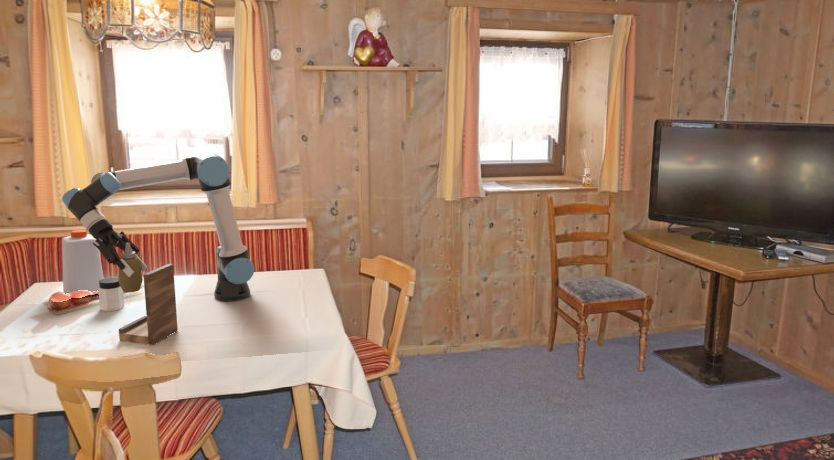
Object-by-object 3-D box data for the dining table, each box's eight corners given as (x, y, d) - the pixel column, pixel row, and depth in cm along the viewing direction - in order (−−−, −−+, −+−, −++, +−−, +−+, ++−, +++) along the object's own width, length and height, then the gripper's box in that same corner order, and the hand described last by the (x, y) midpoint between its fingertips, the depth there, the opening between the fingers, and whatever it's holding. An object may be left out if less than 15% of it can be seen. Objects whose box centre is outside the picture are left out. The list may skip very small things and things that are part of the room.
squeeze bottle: (124, 286, 230) (120, 240, 226) (146, 287, 230) (143, 240, 226) (115, 293, 222) (111, 245, 218) (138, 293, 222) (134, 245, 218)
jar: (101, 312, 247) (98, 284, 244) (99, 306, 254) (96, 279, 251) (125, 309, 252) (123, 281, 249) (122, 303, 259) (120, 276, 256)
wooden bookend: (177, 331, 230) (173, 264, 224) (153, 345, 217) (148, 274, 211) (145, 327, 233) (139, 261, 228) (119, 340, 220) (113, 271, 214)
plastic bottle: (98, 285, 281) (93, 225, 275) (108, 293, 270) (102, 231, 264) (61, 291, 272) (54, 230, 266) (69, 300, 261) (63, 236, 255)
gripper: (111, 226, 234) (150, 271, 234) (70, 237, 216) (113, 285, 215) (121, 213, 232) (161, 259, 231) (81, 223, 213) (125, 272, 213)
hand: (138, 271), depth 223 cm, fingers closed on squeeze bottle, 6 cm apart
